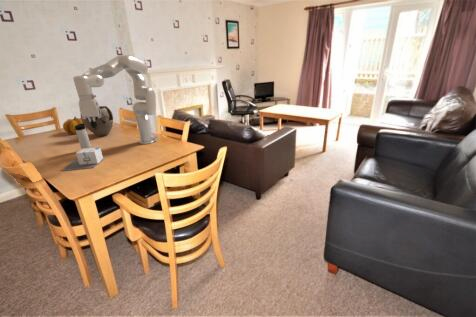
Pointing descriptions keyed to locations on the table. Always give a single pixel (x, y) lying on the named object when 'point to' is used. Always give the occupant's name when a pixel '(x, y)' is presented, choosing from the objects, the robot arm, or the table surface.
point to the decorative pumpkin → (72, 125)
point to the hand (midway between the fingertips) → (95, 127)
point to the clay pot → (101, 122)
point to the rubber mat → (78, 166)
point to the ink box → (89, 156)
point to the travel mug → (82, 136)
